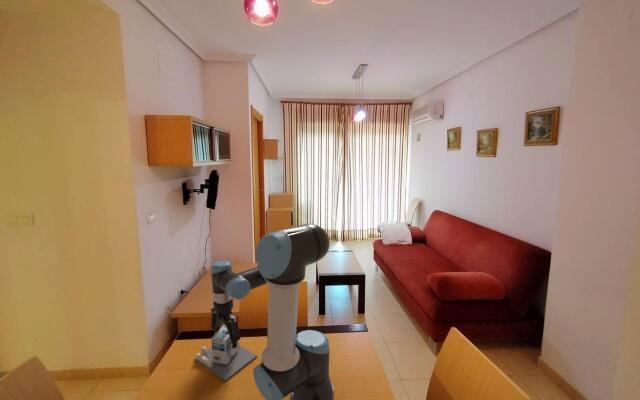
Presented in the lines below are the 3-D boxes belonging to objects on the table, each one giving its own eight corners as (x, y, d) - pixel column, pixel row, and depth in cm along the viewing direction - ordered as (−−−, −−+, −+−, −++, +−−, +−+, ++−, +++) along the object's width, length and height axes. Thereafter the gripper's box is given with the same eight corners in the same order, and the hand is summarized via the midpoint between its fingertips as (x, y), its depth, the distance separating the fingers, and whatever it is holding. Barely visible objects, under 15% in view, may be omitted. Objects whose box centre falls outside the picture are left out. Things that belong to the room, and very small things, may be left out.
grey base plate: (257, 357, 125) (256, 346, 124) (225, 381, 112) (224, 370, 111) (226, 339, 136) (225, 330, 135) (194, 360, 123) (193, 349, 122)
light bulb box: (227, 365, 118) (226, 341, 116) (211, 362, 119) (210, 338, 117) (240, 347, 128) (239, 324, 126) (225, 345, 129) (224, 322, 127)
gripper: (248, 303, 116) (250, 354, 120) (214, 288, 128) (217, 335, 132) (233, 312, 110) (236, 366, 114) (198, 295, 122) (202, 344, 126)
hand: (226, 349), depth 123 cm, fingers closed on light bulb box, 8 cm apart
